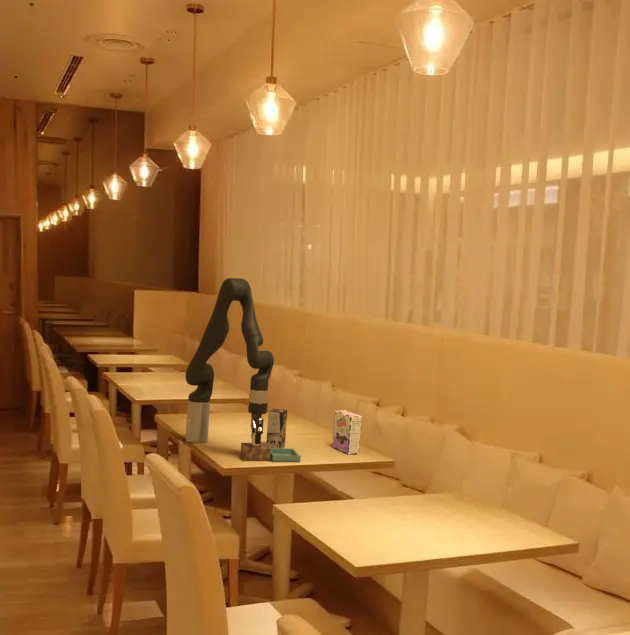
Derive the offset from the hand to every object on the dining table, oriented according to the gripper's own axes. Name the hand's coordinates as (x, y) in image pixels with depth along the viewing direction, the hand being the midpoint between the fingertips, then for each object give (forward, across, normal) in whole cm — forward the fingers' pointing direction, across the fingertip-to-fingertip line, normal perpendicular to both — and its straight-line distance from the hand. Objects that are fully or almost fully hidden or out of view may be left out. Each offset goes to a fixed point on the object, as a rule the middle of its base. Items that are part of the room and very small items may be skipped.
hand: (255, 441), depth 311 cm
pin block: (+7, 0, 0) cm, 7 cm away
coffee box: (+7, -18, +12) cm, 23 cm away
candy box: (+7, -14, +42) cm, 45 cm away
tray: (+7, 0, +12) cm, 13 cm away
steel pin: (+7, 0, 0) cm, 7 cm away
